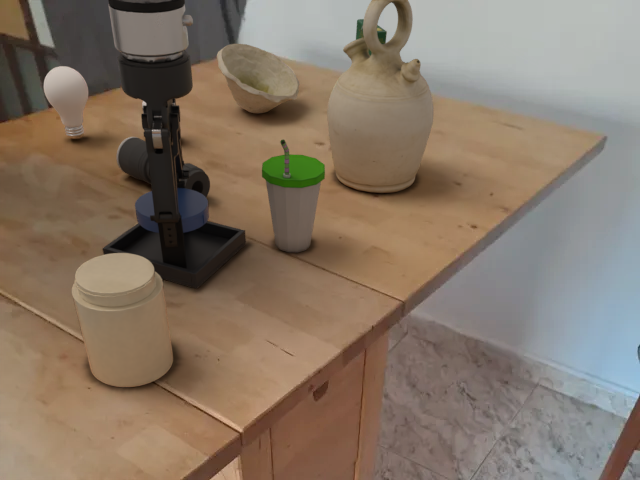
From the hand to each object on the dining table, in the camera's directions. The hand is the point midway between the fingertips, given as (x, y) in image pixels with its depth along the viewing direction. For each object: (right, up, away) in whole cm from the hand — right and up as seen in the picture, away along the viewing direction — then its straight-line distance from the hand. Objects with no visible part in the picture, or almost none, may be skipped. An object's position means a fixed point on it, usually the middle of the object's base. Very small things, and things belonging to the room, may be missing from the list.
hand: (177, 247), depth 87 cm
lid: (0, +4, -4) cm, 6 cm away
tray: (0, -1, +1) cm, 1 cm away
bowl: (+7, +35, +39) cm, 53 cm away
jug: (+27, +16, +20) cm, 37 cm away
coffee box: (+27, +40, +45) cm, 66 cm away
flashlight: (-5, +12, +14) cm, 19 cm away
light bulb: (-22, +25, +27) cm, 42 cm away
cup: (+15, +1, +3) cm, 15 cm away
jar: (-1, -16, -16) cm, 23 cm away
